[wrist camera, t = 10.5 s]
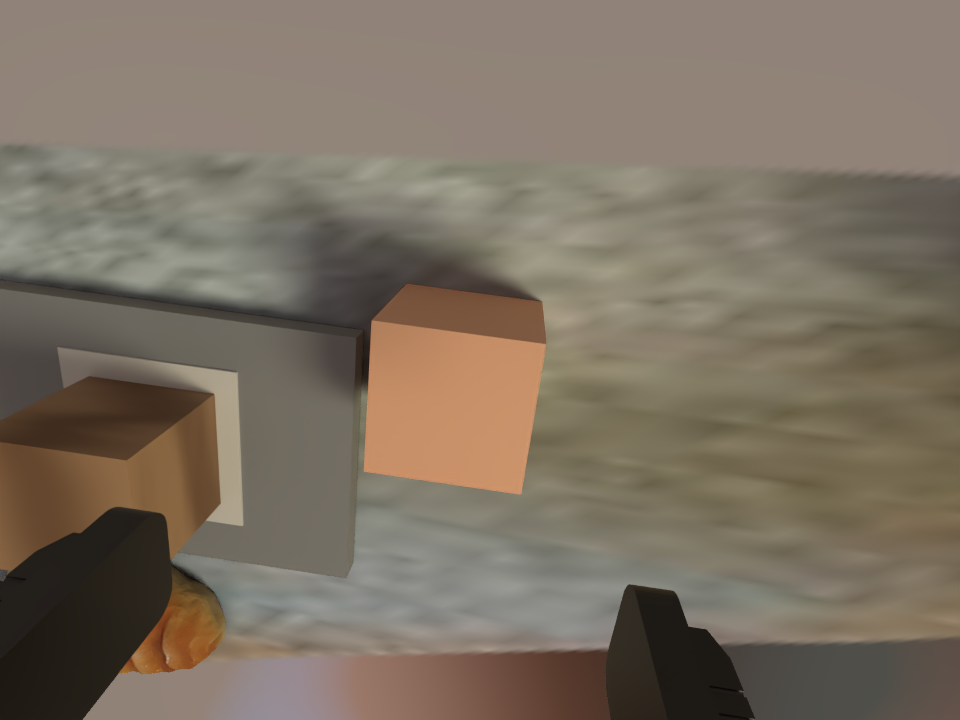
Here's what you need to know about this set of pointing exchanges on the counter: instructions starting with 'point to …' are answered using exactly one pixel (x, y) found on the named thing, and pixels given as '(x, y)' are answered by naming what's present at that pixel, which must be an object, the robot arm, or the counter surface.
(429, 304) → the terracotta block
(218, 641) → the pastry
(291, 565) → the plate
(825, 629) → the counter surface
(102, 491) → the walnut block
